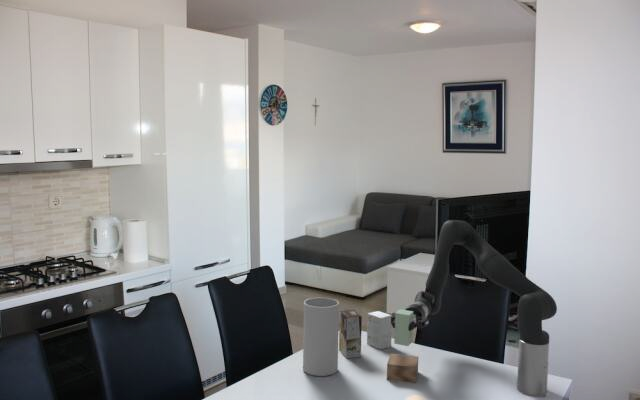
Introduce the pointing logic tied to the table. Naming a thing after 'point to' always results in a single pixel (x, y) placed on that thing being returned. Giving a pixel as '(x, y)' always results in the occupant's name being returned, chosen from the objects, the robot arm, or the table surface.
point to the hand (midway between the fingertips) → (401, 326)
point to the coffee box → (350, 333)
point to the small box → (379, 330)
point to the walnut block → (402, 368)
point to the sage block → (403, 327)
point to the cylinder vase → (320, 336)
